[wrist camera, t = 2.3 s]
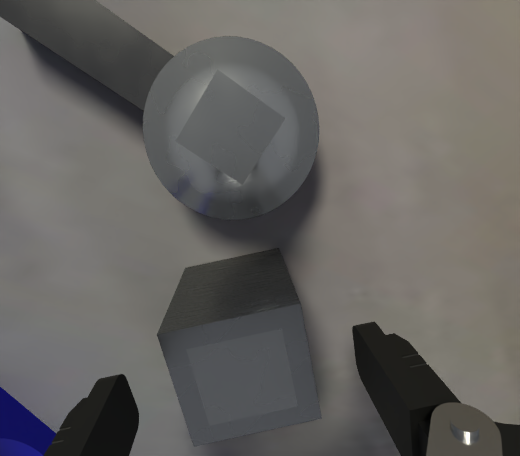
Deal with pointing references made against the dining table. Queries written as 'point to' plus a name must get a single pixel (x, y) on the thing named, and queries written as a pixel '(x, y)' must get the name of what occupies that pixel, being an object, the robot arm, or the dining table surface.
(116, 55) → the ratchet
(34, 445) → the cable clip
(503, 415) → the dining table surface
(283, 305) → the grey paneled cube
